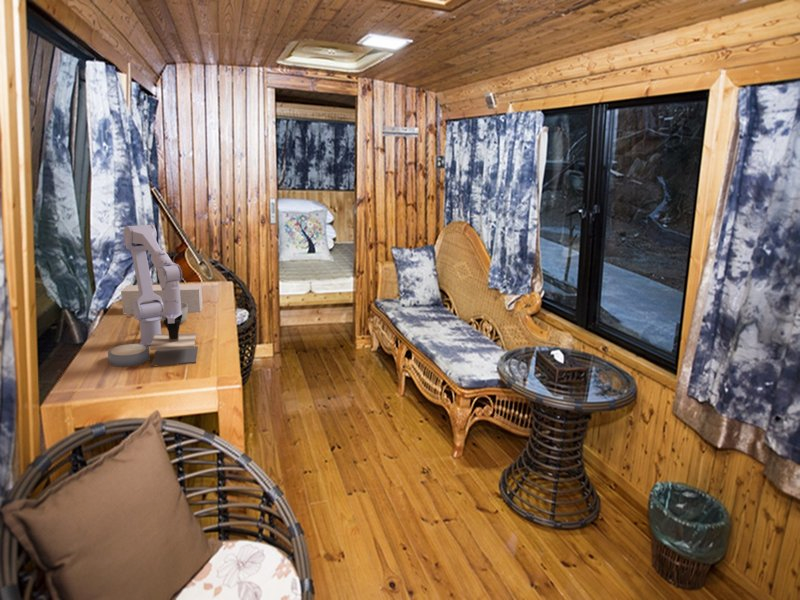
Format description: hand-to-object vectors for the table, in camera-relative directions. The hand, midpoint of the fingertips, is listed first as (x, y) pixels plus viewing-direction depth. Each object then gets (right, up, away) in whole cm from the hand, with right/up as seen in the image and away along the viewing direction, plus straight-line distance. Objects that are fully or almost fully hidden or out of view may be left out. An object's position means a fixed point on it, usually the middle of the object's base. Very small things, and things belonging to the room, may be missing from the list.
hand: (174, 337), depth 200 cm
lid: (0, -2, 0) cm, 2 cm away
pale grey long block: (-27, +8, +57) cm, 64 cm away
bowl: (-15, -8, -2) cm, 17 cm away
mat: (0, -7, +2) cm, 7 cm away
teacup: (-17, +3, +38) cm, 42 cm away
